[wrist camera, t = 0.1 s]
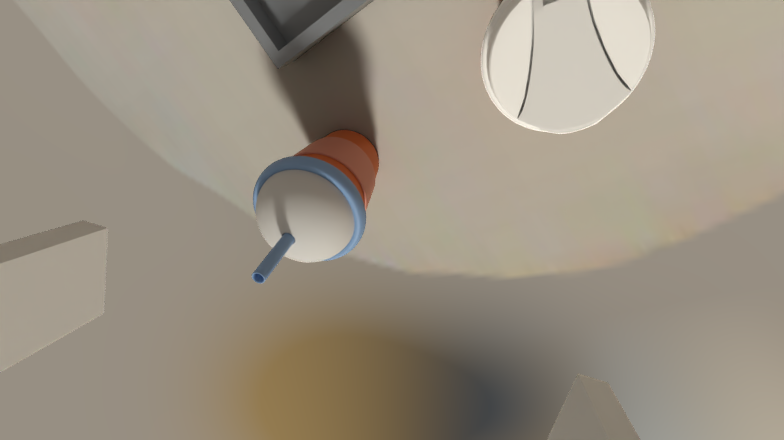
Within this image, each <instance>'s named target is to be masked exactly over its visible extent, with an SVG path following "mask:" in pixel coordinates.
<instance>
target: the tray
mask: <svg viewBox="0 0 784 440" xmlns="http://www.w3.org/2000/svg"><path fill="white" fill-rule="evenodd" d="M230 1H231V3H232V4H233V6H234V7H235V9H236V10H237V11H238V13H239V14H240V16H241V17H242V19H243V20H244V21H245V23H246V24H247V26H248V27H249V29H250V30H251V31H252V33H253V34H254V36H255V37H256V39H257V40H258V41H259V43H260V44H261V46H262V47H263V49H264V50H265V51H266V53H267V54H268V56H269V57H270V59H271V60H272V61H273V63H274V64H275V66H276V67H277V69H279V68H281V67H283V66H285V65H287V64H289V63H291V62H293V61H294V60H296V59H297V58H298V57H300V56H301V55H302V54H304V53H305V52H306V51H308V50H309V49H310V48H312V47H313V46H314V45H316V44H317V43H318V42H319V41H321V40H322V39H323V38H325V37H326V36H327V35H329V34H330V33H331V32H333V31H334V30H335V29H337V28H338V27H339V26H341V25H342V24H343V23H345V22H346V21H347V20H348V19H350V18H351V17H352V16H354V15H355V14H356V13H358V12H359V11H360V10H362V9H363V8H364V7H366V6H367V5H368V4H370V3H371V2H372V1H374V0H230Z"/></svg>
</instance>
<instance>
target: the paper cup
mask: <svg viewBox="0 0 784 440" xmlns="http://www.w3.org/2000/svg"><path fill="white" fill-rule="evenodd" d="M654 41H655V21H654V14H653V10H652V7H651V4H650V1H649V0H503V1H502V2H501V4H500V5H499V7H498V8H497V10H496V11H495V13H494V14H493V16H492V18H491V21H490V23H489V25H488V27H487V30H486V33H485V36H484V39H483V44H482V50H481V72H482V79H483V82H484V85H485V88H486V91H487V93H488V95H489V97H490V99H491V100H492V102H493V103H494V104H495V106H496V107H497V108H498V109H499V110H500V111H501V112H502V113H503V114H504V115H505V116H506V117H507V118H509V119H510V120H512V121H513V122H515V123H517V124H519V125H521V126H523V127H526V128H529V129H532V130H536V131H544V132H550V133H556V134H565V133H572V132H575V131H579V130H582V129H585V128H588V127H590V126H592V125H595V124H597V123H598V122H599V121H601V120H602V119H603V118H604V117H605V116H607V115H608V114H609V113H610V112H611V111H613V110H614V109H615V108H617V107H618V106H619V105H620V104H621V103H622V102H623V101H624V100H625V99H626V98H627V97H628V96H629V95H630V94H631V93H632V91H633V90H634V89H635V87H636V86H637V85H638V83H639V82H640V80H641V78H642V76H643V75H644V73H645V71H646V69H647V66H648V64H649V61H650V59H651V55H652V51H653V47H654Z"/></svg>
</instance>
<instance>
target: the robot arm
mask: <svg viewBox="0 0 784 440" xmlns="http://www.w3.org/2000/svg"><path fill="white" fill-rule="evenodd" d="M107 239H108V228H106V227H103V226H100V225H97V224H94V223H90V222H87V221H79V222H76V223H72V224H69V225H65V226H62V227H58V228H55V229H51V230H48V231H44V232H41V233H37V234H34V235H30V236H27V237H24V238H20V239H17V240H13V241H10V242H7V243H3V244H0V372H2V371H4V370H6V369H7V368H9V367H11V366H13V365H14V364H16V363H18V362H20V361H21V360H23V359H25V358H27V357H28V356H30V355H32V354H34V353H35V352H37V351H39V350H41V349H42V348H44V347H46V346H48V345H49V344H51V343H53V342H55V341H56V340H58V339H60V338H62V337H63V336H65V335H67V334H69V333H70V332H72V331H74V330H76V329H77V328H79V327H81V326H83V325H84V324H86V323H88V322H90V321H92V320H93V319H95V318H97V317H99V316H100V315H102V314H104V302H105V301H104V300H105V280H106V260H107ZM547 440H640V438H639V436H638V435H637V433H636V431H635V429H634V428H633V426H632V424H631V422H630V421H629V419H628V417H627V415H626V414H625V412H624V410H623V408H622V406H621V405H620V403H619V401H618V399H617V398H616V396H615V394H614V392H613V391H612V389H611V387H610V385H609V384H608V383H607V382H604V381H600V380H597V379H594V378H591V377H588V376H585V375H581V374H577V376H576V379H575V381H574V383H573V385H572V387H571V389H570V392H569V393H568V396H567V398H566V400H565V402H564V404H563V406H562V409H561V411H560V413H559V415H558V417H557V419H556V422H555V424H554V426H553V428H552V430H551V432H550V434H549V436H548V439H547Z"/></svg>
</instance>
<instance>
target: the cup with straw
mask: <svg viewBox="0 0 784 440" xmlns="http://www.w3.org/2000/svg"><path fill="white" fill-rule="evenodd" d="M378 167H379V160H378V155H377V152H376V150H375V148H374V146H373V145H372V144H371V142H370V141H369V140H368V139H366V138H365V137H364V136H362V135H361V134H359V133H357V132H354V131H350V130H338V131H335V132H332V133H330V134H329V135H327V136H326V137H324V138H321V139H318V140H316V141H315V142H313V143H311V144H310V145H308V146H307V147H306V148H304V149H303V150H301V151H300V152H298V153H297V154H295V155H294V156H291V157H286V158H283V159H280V160H278V161H276V162H274V163H272V164H271V165H269V166H268V167H267V168H266V169H265V170H264V171H263V172H262V173H261V175H260V176H259V178H258V180H257V182H256V185H255V188H254V193H253V205H254V210H255V214H256V220H257V224H258V227H259V230H260V232H261V234H262V236H263V237H264V239H265V240H266V241H267V243H268V244H269V245H270V246H271V247H272V248H273V249H272V250H271V251H270V252H269V254H268V255H267V256H266V257H265V259H264V260H263V261H262V263H261V264H260V265H259V266H258V267H257V269H256V270H255V271H254V272H253V274H252V278H253V280H254V281H255V282H257V283H264V282H265V280H266V279H267V278H268V276H269V275H270V273H271V272H272V271H273V270H274V268H275V267H276V266H277V264H278V263H279V261H280V260H281V259H282V257H283V256H285V257H287V258H290V259H292V260H296V261H300V262H318V261H327V260H332V259H336V258H339V257H341V256H343V255H345V254H347V253H348V252H350V251H351V250H352V249H353V248H354V247H355V246H356V245H357V244H358V242H359V241H360V239H361V237H362V235H363V233H364V229H365V224H366V209H367V206H368V203H369V200H370V198H371V195H372V192H373V189H374V186H375V178H376V175H377V172H378Z"/></svg>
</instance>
